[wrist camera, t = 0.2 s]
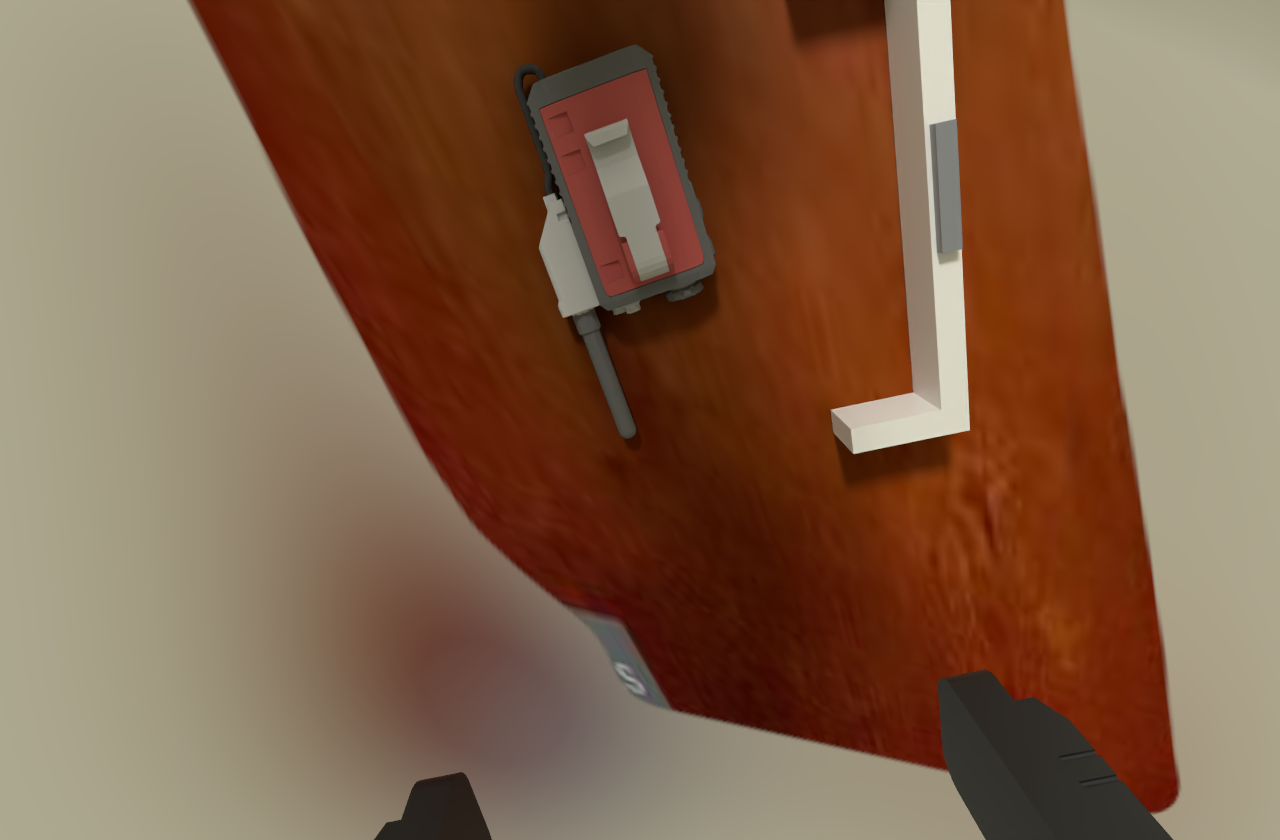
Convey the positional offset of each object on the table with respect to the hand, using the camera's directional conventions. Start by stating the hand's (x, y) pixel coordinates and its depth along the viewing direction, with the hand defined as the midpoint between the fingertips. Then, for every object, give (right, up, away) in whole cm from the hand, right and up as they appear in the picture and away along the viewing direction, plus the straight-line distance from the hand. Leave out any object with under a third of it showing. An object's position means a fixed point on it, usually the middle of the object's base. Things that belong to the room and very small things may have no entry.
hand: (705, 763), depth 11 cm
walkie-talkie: (-2, +15, +25) cm, 30 cm away
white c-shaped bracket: (+10, +17, +24) cm, 32 cm away
